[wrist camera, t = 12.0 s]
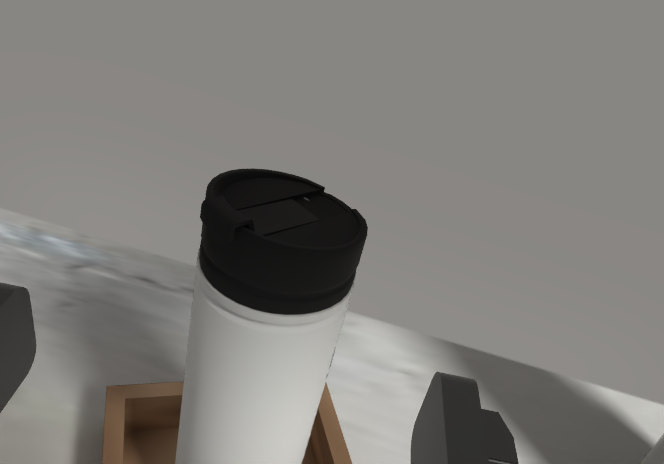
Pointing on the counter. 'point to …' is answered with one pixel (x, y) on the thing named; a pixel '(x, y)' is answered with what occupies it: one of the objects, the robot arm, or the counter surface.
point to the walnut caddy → (164, 417)
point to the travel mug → (264, 316)
